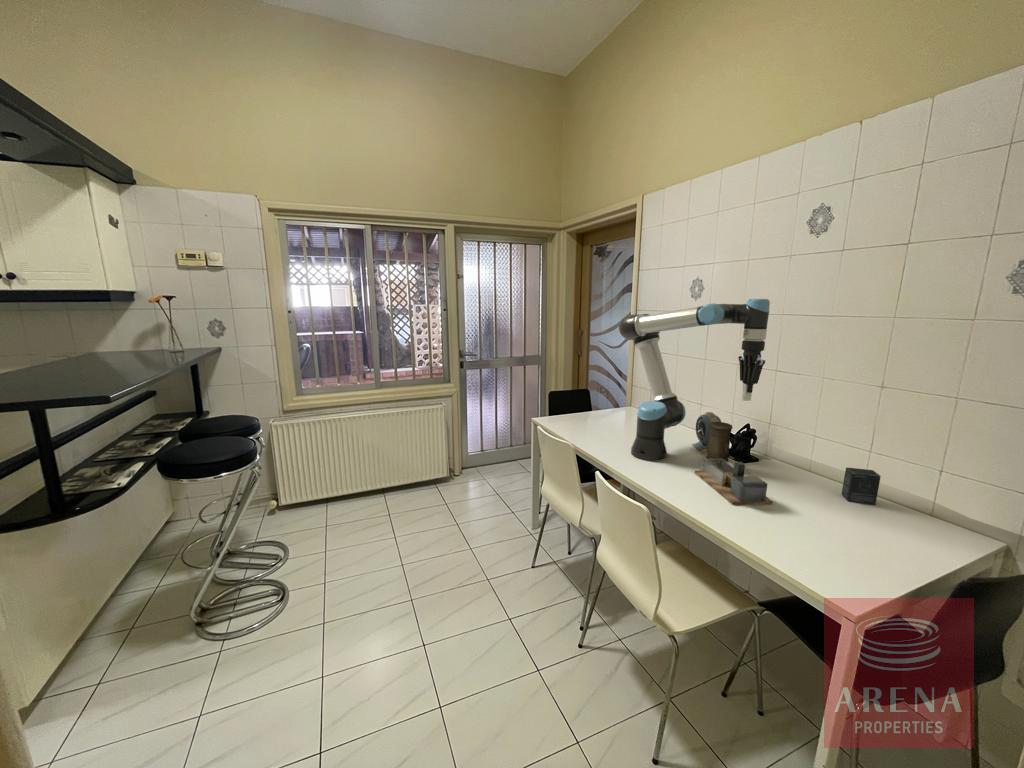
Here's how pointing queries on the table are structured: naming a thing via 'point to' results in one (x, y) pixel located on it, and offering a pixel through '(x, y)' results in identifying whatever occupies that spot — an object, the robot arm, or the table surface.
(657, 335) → the robot arm
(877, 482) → the box
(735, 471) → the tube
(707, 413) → the alarm clock
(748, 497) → the socket
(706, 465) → the grey tilted block
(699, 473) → the board
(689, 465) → the table surface
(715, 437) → the container
